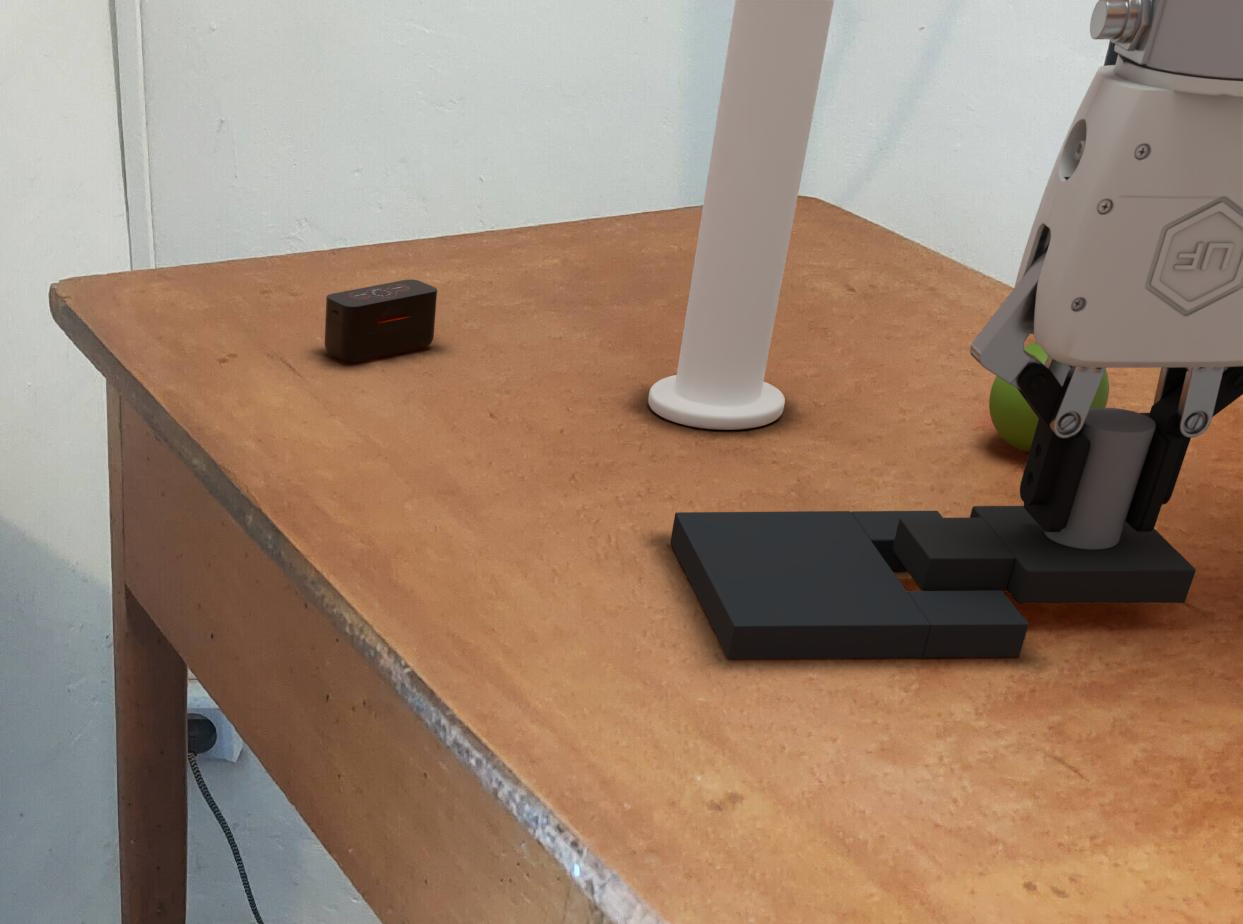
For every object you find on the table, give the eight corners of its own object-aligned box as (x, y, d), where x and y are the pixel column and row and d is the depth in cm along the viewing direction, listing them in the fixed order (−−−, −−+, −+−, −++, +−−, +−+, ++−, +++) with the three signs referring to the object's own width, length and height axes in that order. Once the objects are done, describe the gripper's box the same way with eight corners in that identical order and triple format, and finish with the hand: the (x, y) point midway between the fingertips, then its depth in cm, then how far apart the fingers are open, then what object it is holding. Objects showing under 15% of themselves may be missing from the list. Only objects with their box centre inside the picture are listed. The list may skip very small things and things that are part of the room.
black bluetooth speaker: (448, 346, 110) (453, 288, 108) (346, 367, 107) (349, 308, 105) (402, 324, 113) (406, 268, 111) (302, 345, 110) (304, 287, 108)
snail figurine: (1062, 484, 92) (1139, 223, 85) (954, 445, 96) (1018, 193, 89) (1130, 460, 95) (1211, 204, 87) (1022, 423, 99) (1090, 176, 91)
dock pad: (930, 541, 87) (938, 509, 86) (1019, 657, 78) (1029, 623, 77) (669, 543, 87) (675, 511, 86) (727, 659, 78) (734, 625, 77)
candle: (721, 440, 97) (822, -131, 82) (620, 404, 102) (696, -145, 86) (810, 411, 101) (923, -145, 85) (708, 377, 105) (797, -157, 89)
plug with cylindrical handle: (1120, 537, 84) (1168, 390, 80) (1185, 603, 79) (1239, 449, 75) (882, 538, 84) (918, 392, 80) (931, 604, 79) (971, 451, 75)
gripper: (1047, 55, 66) (919, 556, 77) (1519, 51, 66) (1320, 555, 77) (977, 16, 72) (868, 487, 83) (1410, 12, 72) (1240, 486, 83)
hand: (1087, 515), depth 80 cm, fingers closed on plug with cylindrical handle, 3 cm apart
